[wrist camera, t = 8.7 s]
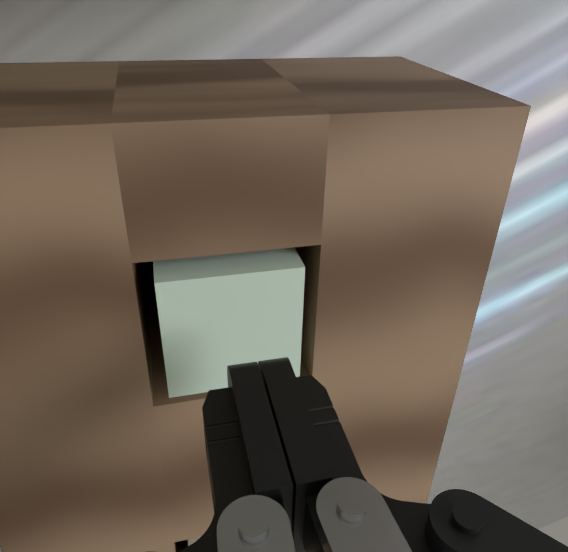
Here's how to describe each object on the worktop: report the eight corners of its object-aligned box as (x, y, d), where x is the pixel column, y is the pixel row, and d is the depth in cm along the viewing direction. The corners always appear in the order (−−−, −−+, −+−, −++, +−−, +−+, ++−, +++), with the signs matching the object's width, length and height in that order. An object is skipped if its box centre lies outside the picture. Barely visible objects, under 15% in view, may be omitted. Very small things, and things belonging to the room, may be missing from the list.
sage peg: (147, 176, 20) (154, 283, 13) (251, 169, 21) (304, 267, 14) (158, 267, 22) (168, 397, 15) (252, 257, 23) (299, 377, 16)
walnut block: (-59, 64, 17) (-186, 135, 10) (400, 56, 20) (531, 106, 14) (78, 519, 29) (62, 684, 23) (347, 466, 33) (401, 596, 26)
